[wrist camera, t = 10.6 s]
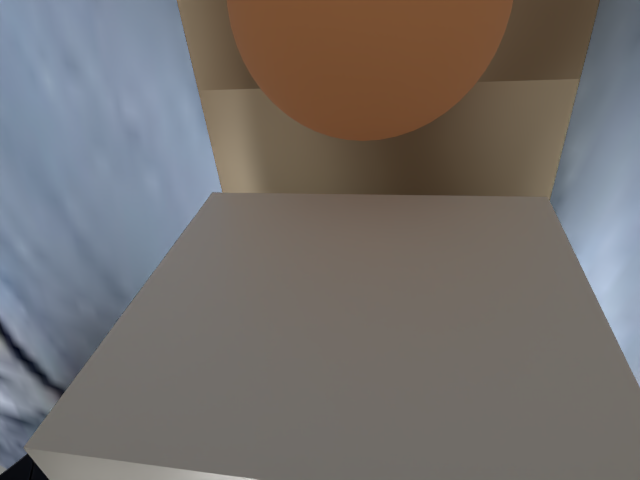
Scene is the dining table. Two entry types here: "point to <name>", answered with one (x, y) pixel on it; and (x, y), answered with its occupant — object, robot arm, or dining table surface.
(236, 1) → the ball
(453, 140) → the board
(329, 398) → the matte white cube
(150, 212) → the dining table surface
